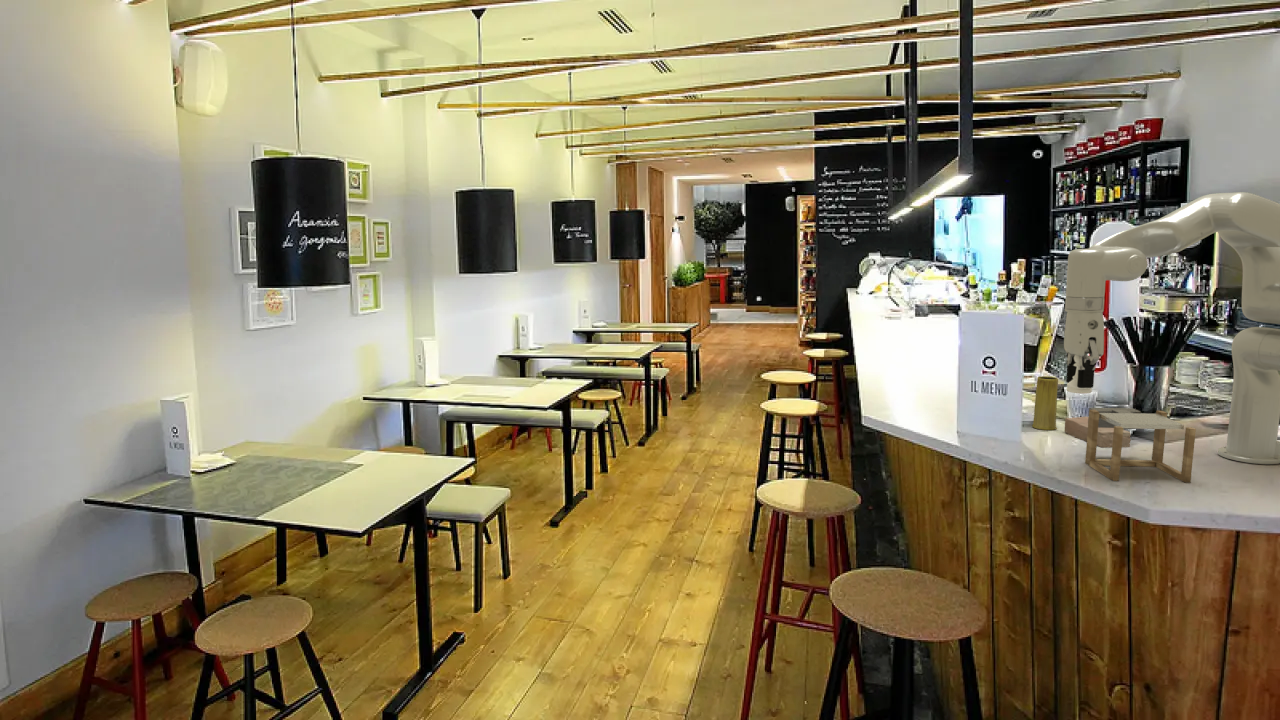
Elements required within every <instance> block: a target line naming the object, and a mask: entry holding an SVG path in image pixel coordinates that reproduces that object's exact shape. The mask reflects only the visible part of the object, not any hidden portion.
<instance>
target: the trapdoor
mask: <svg viewBox="0 0 1280 720" xmlns="http://www.w3.org/2000/svg"><path fill="white" fill-rule="evenodd" d="M1089 410H1096V411H1098V412H1099V423H1098V428H1114V426H1120V427H1122V428H1123V429H1136V430H1137V429H1140V430H1141V429H1142V430H1143V429H1147V430H1155V429H1166V430H1185V424H1183V423H1180V422H1178V421H1176V420H1173V419H1171V418H1169V417H1167V418H1166V417H1164V416H1162V415H1159V414H1156V413H1142V411H1140V410H1139V409H1135V408H1132V407H1088V411H1089ZM1087 417H1088V421H1089V415H1088V416H1087Z"/></svg>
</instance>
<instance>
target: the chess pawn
mask: <svg viewBox="0 0 1280 720" xmlns="http://www.w3.org/2000/svg"><path fill="white" fill-rule="evenodd" d="M1084 356H1088V354H1085V355H1084ZM1086 360H1087V359H1084V362H1086ZM1074 361H1075V362H1076V363H1075V364H1074V365H1073V366H1077V368H1076V373H1075V375H1074V376H1073V377H1072V378H1073V380H1071V381H1070V382H1069V383H1067V382H1066V392H1069V393H1070V394H1071V393H1072V394H1085V395H1086V394H1091V393H1092V392H1093V389H1092V388H1079V387H1077V381H1078V370H1080V359H1079V356H1076V355H1075V356H1074Z"/></svg>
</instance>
